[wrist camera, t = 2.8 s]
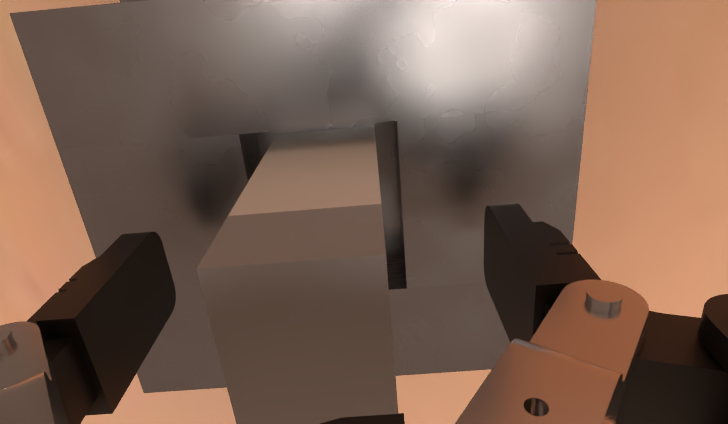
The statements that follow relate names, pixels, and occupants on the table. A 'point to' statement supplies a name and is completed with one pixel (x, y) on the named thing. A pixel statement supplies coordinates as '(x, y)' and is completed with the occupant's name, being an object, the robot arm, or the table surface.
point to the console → (317, 113)
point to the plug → (305, 285)
